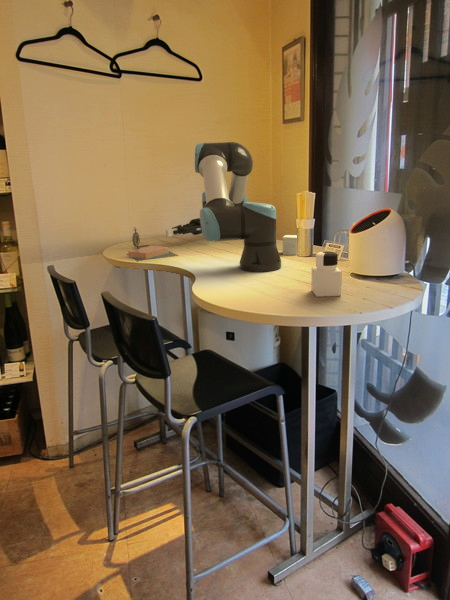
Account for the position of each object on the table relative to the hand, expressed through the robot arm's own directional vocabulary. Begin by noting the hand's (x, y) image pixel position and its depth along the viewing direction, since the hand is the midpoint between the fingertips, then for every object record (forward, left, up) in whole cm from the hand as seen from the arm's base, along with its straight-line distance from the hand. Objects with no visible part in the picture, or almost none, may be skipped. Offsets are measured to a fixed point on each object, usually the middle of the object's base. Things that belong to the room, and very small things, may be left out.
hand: (167, 233), depth 207 cm
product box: (-37, -40, -8) cm, 56 cm away
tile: (-3, +5, -6) cm, 8 cm away
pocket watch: (+13, +8, -8) cm, 18 cm away
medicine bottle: (-92, -16, -8) cm, 94 cm away
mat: (-6, +10, -8) cm, 14 cm away
